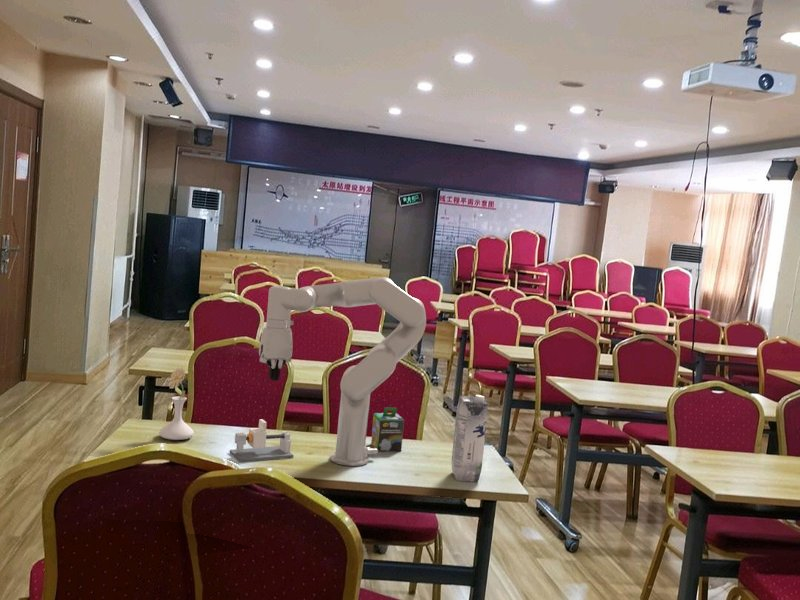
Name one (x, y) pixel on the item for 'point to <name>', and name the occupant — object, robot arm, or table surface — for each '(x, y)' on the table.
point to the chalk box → (387, 430)
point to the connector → (240, 442)
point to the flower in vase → (177, 411)
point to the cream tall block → (259, 435)
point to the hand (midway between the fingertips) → (274, 379)
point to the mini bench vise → (266, 451)
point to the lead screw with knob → (250, 437)
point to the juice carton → (469, 438)
